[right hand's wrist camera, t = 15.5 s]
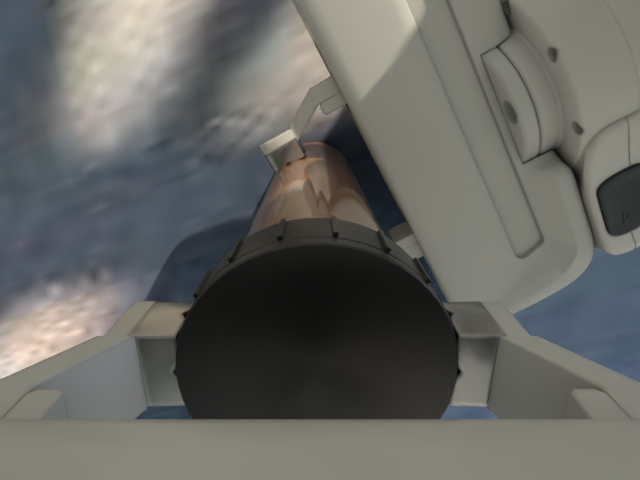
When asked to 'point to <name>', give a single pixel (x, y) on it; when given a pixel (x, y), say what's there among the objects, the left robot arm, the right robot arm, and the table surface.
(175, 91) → the table surface
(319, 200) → the brown cylinder
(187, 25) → the table surface
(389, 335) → the lid
